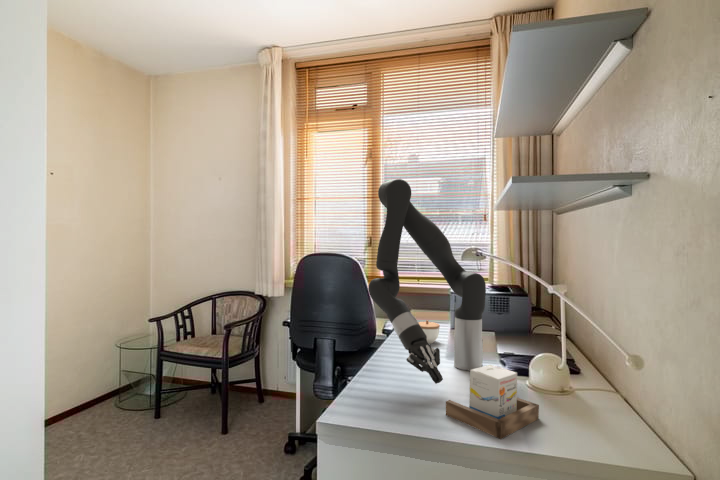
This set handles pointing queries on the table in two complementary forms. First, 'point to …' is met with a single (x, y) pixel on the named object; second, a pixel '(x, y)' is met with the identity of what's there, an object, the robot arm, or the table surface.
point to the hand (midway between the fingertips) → (439, 381)
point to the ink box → (493, 391)
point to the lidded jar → (430, 330)
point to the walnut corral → (491, 425)
